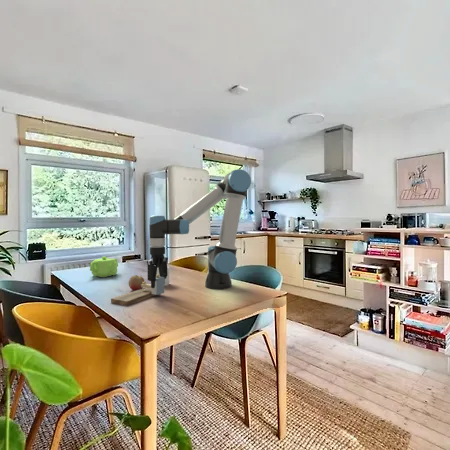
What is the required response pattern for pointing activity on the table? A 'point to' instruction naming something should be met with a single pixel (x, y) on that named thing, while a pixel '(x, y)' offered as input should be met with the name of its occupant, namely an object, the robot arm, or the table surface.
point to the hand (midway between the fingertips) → (158, 292)
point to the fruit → (136, 282)
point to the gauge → (159, 285)
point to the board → (133, 297)
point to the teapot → (104, 267)
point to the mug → (166, 278)
